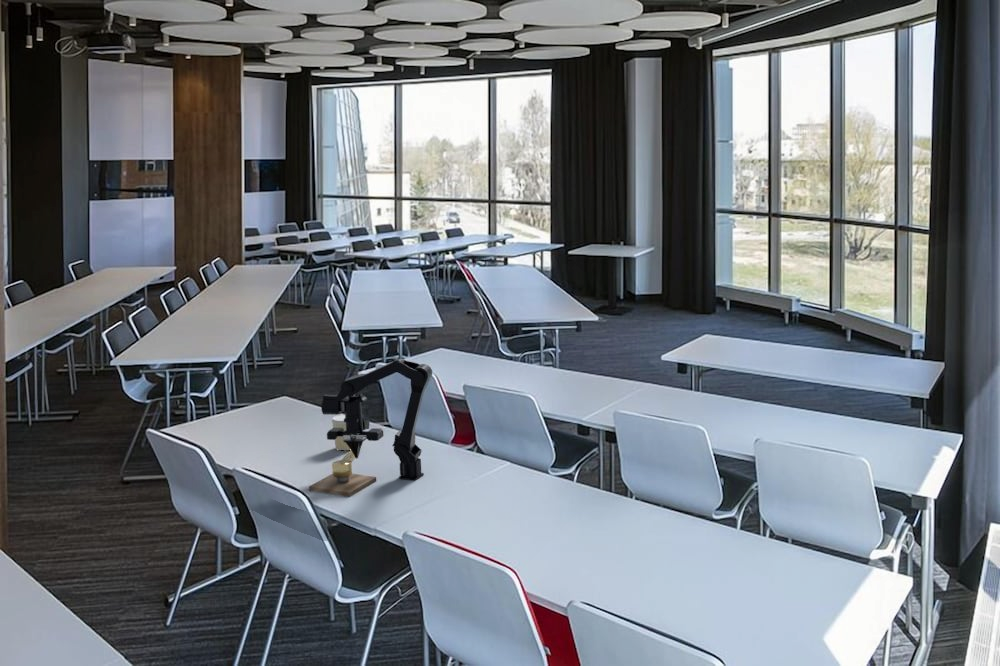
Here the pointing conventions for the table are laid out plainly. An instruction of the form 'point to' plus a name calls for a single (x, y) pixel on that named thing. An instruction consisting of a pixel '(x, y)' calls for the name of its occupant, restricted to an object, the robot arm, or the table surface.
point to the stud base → (342, 484)
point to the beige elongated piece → (343, 466)
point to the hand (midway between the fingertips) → (357, 458)
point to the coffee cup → (339, 423)
